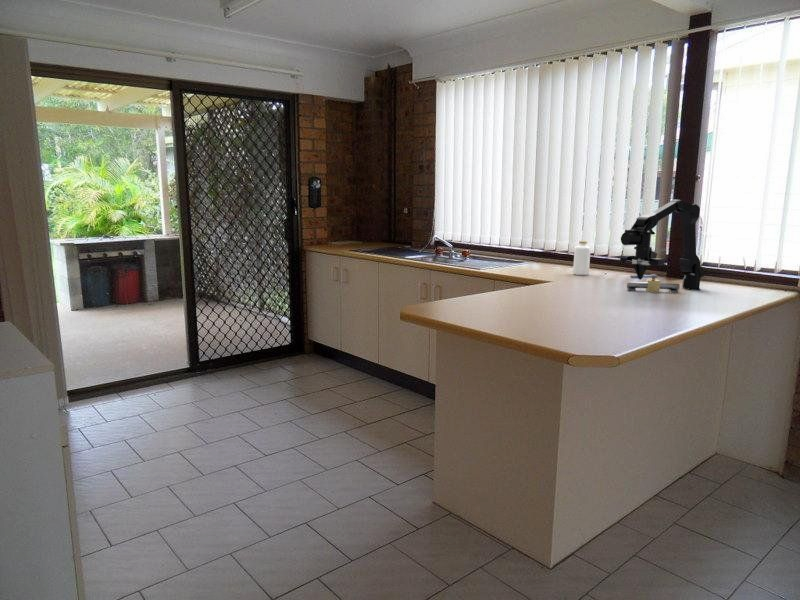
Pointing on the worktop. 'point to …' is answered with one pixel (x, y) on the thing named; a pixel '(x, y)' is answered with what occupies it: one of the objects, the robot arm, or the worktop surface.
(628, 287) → the pipe run
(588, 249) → the potion bottle
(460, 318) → the worktop surface
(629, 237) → the robot arm
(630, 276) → the valve lever
